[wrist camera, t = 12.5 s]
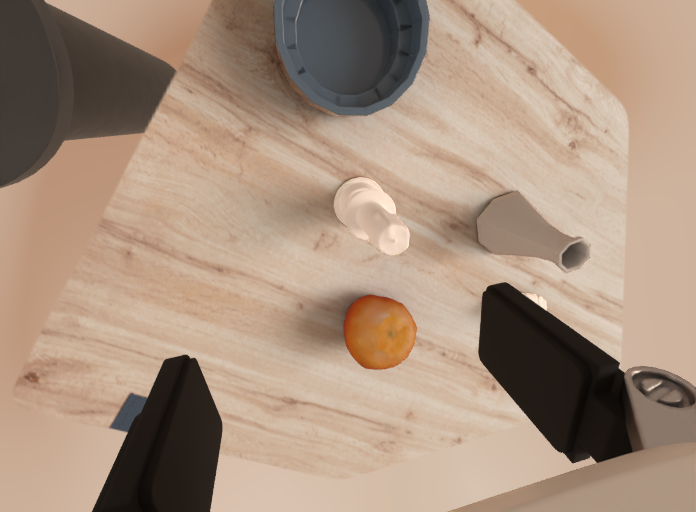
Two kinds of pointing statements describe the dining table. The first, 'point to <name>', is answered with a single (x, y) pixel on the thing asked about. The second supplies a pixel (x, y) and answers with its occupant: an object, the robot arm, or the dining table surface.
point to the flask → (528, 233)
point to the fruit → (379, 332)
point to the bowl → (351, 51)
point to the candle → (371, 215)
